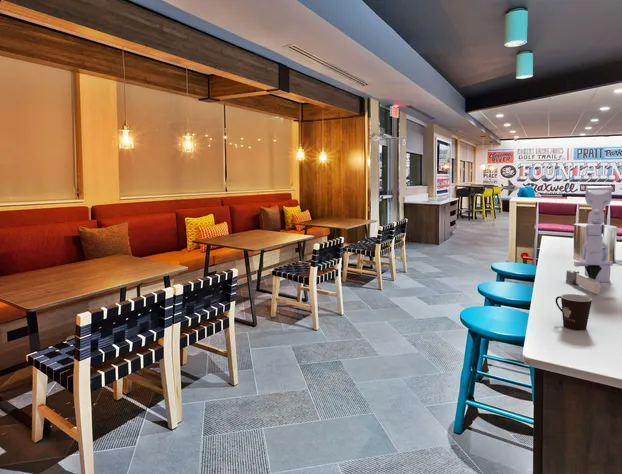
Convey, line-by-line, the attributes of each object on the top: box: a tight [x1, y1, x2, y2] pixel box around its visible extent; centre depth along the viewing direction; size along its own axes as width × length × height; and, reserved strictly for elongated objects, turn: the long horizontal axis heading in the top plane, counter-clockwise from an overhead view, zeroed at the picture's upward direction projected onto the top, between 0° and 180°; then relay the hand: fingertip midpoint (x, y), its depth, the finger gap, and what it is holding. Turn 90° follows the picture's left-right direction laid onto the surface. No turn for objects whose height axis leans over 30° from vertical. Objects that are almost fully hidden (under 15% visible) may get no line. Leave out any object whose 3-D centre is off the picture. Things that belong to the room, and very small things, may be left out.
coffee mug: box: [555, 293, 593, 332], centre depth 138 cm, size 12×9×10 cm
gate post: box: [565, 270, 580, 286], centre depth 191 cm, size 8×2×6 cm, turn 174°
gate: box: [576, 272, 601, 295], centre depth 179 cm, size 16×2×5 cm, turn 173°
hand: (592, 282), depth 178 cm, fingers closed
